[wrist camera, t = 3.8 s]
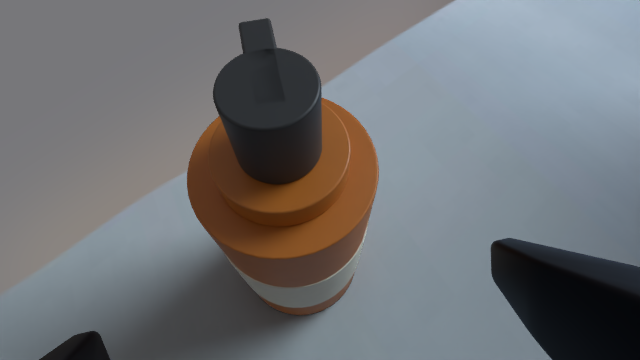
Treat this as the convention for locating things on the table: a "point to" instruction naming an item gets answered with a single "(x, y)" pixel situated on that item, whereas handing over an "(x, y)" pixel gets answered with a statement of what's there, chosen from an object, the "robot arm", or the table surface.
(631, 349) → the robot arm
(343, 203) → the sanitizer bottle
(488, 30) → the table surface
